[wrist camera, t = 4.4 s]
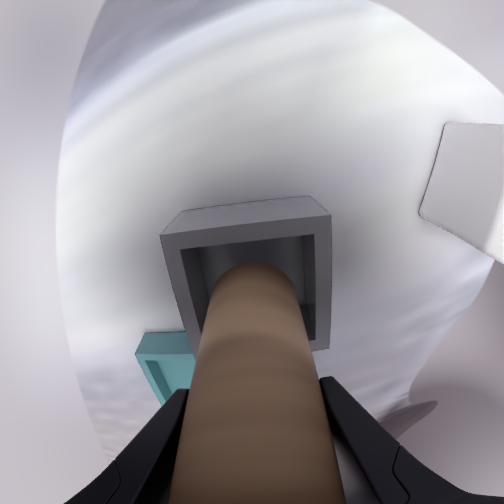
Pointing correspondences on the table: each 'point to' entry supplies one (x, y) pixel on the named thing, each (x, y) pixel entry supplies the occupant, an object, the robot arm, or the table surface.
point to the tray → (166, 362)
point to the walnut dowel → (255, 402)
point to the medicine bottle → (469, 186)
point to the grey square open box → (252, 257)
